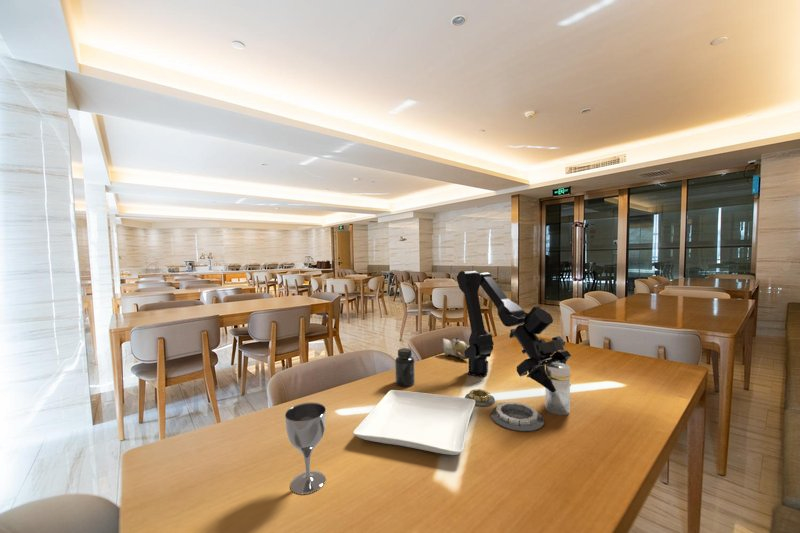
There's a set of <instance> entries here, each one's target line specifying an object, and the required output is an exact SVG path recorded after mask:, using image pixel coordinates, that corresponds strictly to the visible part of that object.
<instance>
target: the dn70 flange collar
mask: <svg viewBox="0 0 800 533" xmlns="http://www.w3.org/2000/svg"><path fill="white" fill-rule="evenodd" d="M490 418H491V420H492V421H493V422H494V423H495V424H497V426H500V427H502V428H504V429H507V430H511V431H514V432H525V433H527V432H534V431H538V430H540V429H542V428H543V427H544V424H545V419H544V416H543V415H542V414H540V413H539V411H537V410H536V409H535V408H534V407H532V406H530V405H528V404H526V403H522V402H515V401H509V402H508V401H505V402H502V403H500V404H498V405H497V406H495V407H493V408H492V409H491V411H490Z"/></svg>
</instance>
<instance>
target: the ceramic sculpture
mask: <svg viewBox="0 0 800 533" xmlns="http://www.w3.org/2000/svg"><path fill="white" fill-rule="evenodd" d="M468 345H469V344H467V343H466V341H464V340H460V339H459V337H455V338H453V339H452V340H449V339H447V338H442V348H443V353H444V356H450V355H451V356H454V357H455V358H458V357H459V359H460V360H469V359H468V358H466V357H465V354H464V351H465V350H466V349H467V348H468V347H469V346H468Z"/></svg>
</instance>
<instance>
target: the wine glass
mask: <svg viewBox="0 0 800 533" xmlns="http://www.w3.org/2000/svg"><path fill="white" fill-rule="evenodd" d="M326 414H327V409H326V406H325V405H324V404H322V403H320V402H303V403H299V404H296V405H294V406H291V407H290V408H288V409H287V411H286V412H285V415H284V416H285V418H284V419H285V430H286V435H287V438H288V441H289V443H290V444H291V445H292V446H293V447H294V448H295V449H296V450H297V451H299V452H300V453H301V454H302V456H303V459H304V463H305V471H303V472H301V473H299V474H297V475H296V476H295V477H293V478H292V480H291V482H290V483H289V488H291V489H290V491H291V490H292V491H293V492H292V491H291V492H292V493H294V492H295V493H298V494H302V493H303V494H307V495H310V494H309V493H311V492H314V491H316V490H318V489H319V490H321V489H322V488H323V487H324V485H325V484H326V482H327V479H326V478H325V477H326V475H325V474H324V473H323V472H322V471H320V470H319V471H318V470H310V469H311V467H310V464H311V456H312V453H313V451H314V450H315V449H316V447H317V446H318V445H319V444H320V442H322V439H323V437H324V433H325V430H326V429H325V428H326V424H327V422H326V421H327V418H326V416H327V415H326ZM325 481H326V482H325ZM324 482H325V483H324ZM322 486H323V487H322ZM321 487H322V488H321ZM320 488H321V489H320ZM319 490H318V491H319ZM316 492H317V491H316ZM295 493H294V494H295ZM314 493H315V492H314ZM298 494H297V495H298ZM311 494H312V493H311Z"/></svg>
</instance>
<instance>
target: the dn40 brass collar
mask: <svg viewBox="0 0 800 533" xmlns="http://www.w3.org/2000/svg"><path fill="white" fill-rule="evenodd" d="M464 398H467V399H474V400H475V401H476V403H475V406H474V407H489V406H492V405H494V404H495V397H494V395H491V393H490V392H489V391H487V390H486V389H480V388H479V389H478V388H477V389H471V390H469V392H468V393H467V394H465V396H464Z"/></svg>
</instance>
